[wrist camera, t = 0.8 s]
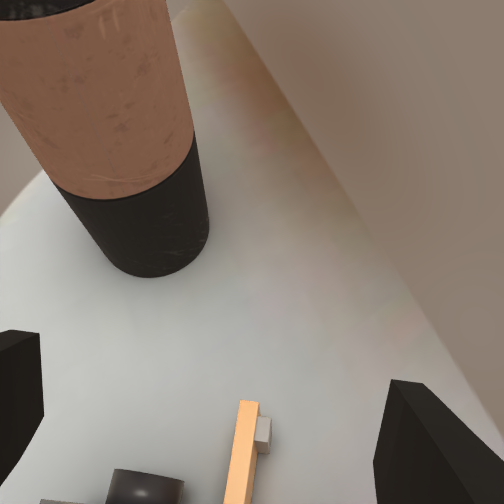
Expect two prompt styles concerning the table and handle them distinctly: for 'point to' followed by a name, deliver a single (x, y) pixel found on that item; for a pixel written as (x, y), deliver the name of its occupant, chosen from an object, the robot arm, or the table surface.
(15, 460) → the robot arm
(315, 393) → the table surface
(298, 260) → the table surface
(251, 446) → the side door
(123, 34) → the travel mug
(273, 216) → the table surface
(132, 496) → the camera housing
